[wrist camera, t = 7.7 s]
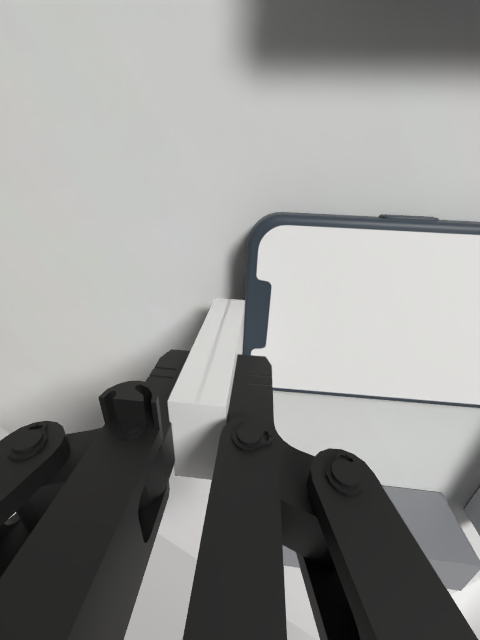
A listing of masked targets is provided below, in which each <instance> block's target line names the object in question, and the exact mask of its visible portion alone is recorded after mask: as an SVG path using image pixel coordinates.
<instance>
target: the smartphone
mask: <svg viewBox="0 0 480 640" xmlns="http://www.w3.org/2000/svg"><path fill="white" fill-rule="evenodd" d="M244 300H245V314H244V333H243V352H242V355H253V356H265V357H266V358H267V359H268V361H269V362H270V364H271V365H272V387H273V390H275V391H286V392H298V393H310V394H322V395H334V396H346V397H357V398H369V399H381V400H393V401H405V402H417V403H429V404H440V405H452V406H464V407H476V408H480V222H471V221H450V220H439V219H438V218H434V217H424V216H403V215H379V217H369V216H349V215H329V214H308V213H288V212H276V213H272V214H269V215H267V216H265V217H263V218H262V219H260V220H259V221H258V222H257V223H256V224H255V225H254V227H253V229H252V230H251V233H250V235H249V239H248V243H247V256H246V276H245V296H244Z"/></svg>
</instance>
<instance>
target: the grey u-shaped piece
mask: <svg viewBox="0 0 480 640" xmlns="http://www.w3.org/2000/svg"><path fill="white" fill-rule="evenodd" d="M382 487H383V488H384V490H385V492H386V493H387V495H388V496H389V498H390V500H391V501H392V503H393V504H394V506H395V508H396V509H397V511H398V512H399V514H400V516H401V517H402V519H403V520H404V522H405V524H406V525H407V527H408V528H409V530H410V532H411V533H412V535H413V536H414V538H415V540H416V541H417V543H418V544H419V546H420V548H421V549H422V551H423V552H424V554H425V556H426V557H427V559H428V560H429V562H430V564H431V565H432V567H433V568H434V570H435V572H436V573H437V575H438V576H439V578H440V579H441V581H442V583H443V584H444V586H445V587H446V589H453V590H460V591H461V590H462V589H463V588H464V587H465V586H466V585H467V583H468V582H469V581H470V580H471V579H472V578H473V577H474V576H475V575H476V573H477V572H478V571H479V570H480V560H479V559H478V557H477V555H476V553H475V551H474V550H473V548H472V546H471V544H470V542H469V541H468V539H467V537H466V535H465V533H464V532H463V530H462V528H461V526H460V524H459V523H458V521H457V519H456V517H455V515H454V514H453V512H452V510H451V508H450V506H449V505H448V503H447V501H446V499H445V498H444V496H443V494H442V493H440V492H431V491H423V490H414V489H406V488H397V487H389V486H382ZM464 510H465V512H466V514H467V515H468V517H469V519H470V520H471V522H472V524H473V525H474V527H475V529H476V530H477V532H478V534H479V536H480V487H479V489H478V490H477V491H476V493H475V494H474V496H473V497H472V498H471V500H470V501H469V503H468V504H467V506H466V507H465V508H464ZM283 565H285V566H292V567H299V568H300V565H299V562H298V558H297V555H296V552H295V551H293V550H291V549H289V548H287V547H285V546H283Z"/></svg>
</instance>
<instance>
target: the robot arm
mask: <svg viewBox="0 0 480 640" xmlns="http://www.w3.org/2000/svg"><path fill="white" fill-rule="evenodd" d="M244 314H245V300H236V299H223V298H215V299H214V301H213V303H212V305H211V308H210V310H209V312H208V314H207V316H206V318H205V321H204V323H203V325H202V327H201V329H200V332H199V334H198V336H197V338H196V340H195V342H194V345H193V347H192V349H191V351H181V350H170V351H169V352H167V353H166V354H165V355H163V356H162V357H161V358H160V359H159V361H158V363H157V364H156V366H155V369H153V371H152V372H151V374H150V377H148V379H147V380H146V382H142V381H128V382H124V383H120V384H117V385H115V386H113V387H111V388H109V389H107V390H106V391H105V392H104V393H103V394H101V395H100V396H99V401H100V405H101V409H102V413H103V417H104V421H105V425H104V426H103V427H102V428H99V429H95V430H90V431H84V432H78V433H72V434H65V431H64V428H63V427H62V426H61V425H60V424H58V423H57V422H51V421H42V422H35V423H32V424H29V425H27V426H24V427H21V428H19V429H18V430H16V431H14V432H13V433H11V434H9V435H8V436H6V437H5V438H4V439H2V440H1V441H0V640H124V636H125V633H126V630H127V627H128V624H129V621H130V617H131V614H132V611H133V608H134V605H135V602H136V598H137V595H138V592H139V589H140V586H141V583H142V579H143V576H144V573H145V570H146V567H147V564H148V560H149V557H150V554H151V551H152V548H153V544H154V542H155V538H156V535H157V532H158V529H159V526H160V523H161V519H162V516H163V513H164V510H165V507H166V504H167V500H168V497H169V489H170V488H169V478H170V475H171V472H172V469H173V466H174V469H175V475H176V476H185V477H194V478H201V479H211V480H212V482H211V488H210V493H209V499H208V504H207V510H206V515H205V521H204V526H203V532H202V537H201V542H200V548H199V553H198V559H197V564H196V570H195V576H194V581H193V586H192V592H191V597H190V603H189V608H188V614H187V619H186V625H185V630H184V636H183V640H287V633H286V632H287V630H286V609H285V588H284V567H283V546H285V547H287V548H289V549H291V550H293V551H295V552H296V555H297V558H298V562H299V565H300V569H301V572H302V576H303V580H304V583H305V587H306V590H307V594H308V597H309V601H310V605H311V608H312V612H313V615H314V619H315V622H316V626H317V629H318V633H319V637H320V640H478V639H477V637H476V635H475V634H474V632H473V631H472V629H471V628H470V626H469V624H468V623H467V621H466V619H465V618H464V616H463V615H462V613H461V611H460V610H459V608H458V607H457V605H456V604H455V602H454V600H453V599H452V597H451V595H450V594H449V592H448V591H447V589H446V587H445V586H444V584H443V583H442V581H441V579H440V578H439V576H438V575H437V573H436V572H435V570H434V568H433V567H432V565H431V564H430V562H429V560H428V559H427V557H426V556H425V554H424V552H423V551H422V549H421V548H420V546H419V544H418V543H417V541H416V540H415V538H414V536H413V535H412V533H411V532H410V530H409V528H408V527H407V525H406V524H405V522H404V520H403V519H402V517H401V516H400V514H399V512H398V511H397V509H396V508H395V506H394V504H393V503H392V501H391V500H390V498H389V496H388V495H387V493H386V492H385V490H384V488H383V487H382V485H381V484H380V482H379V480H378V479H377V477H376V476H375V474H374V473H373V471H372V470H371V469H370V468H369V467H368V465H367V464H366V463H365V462H364V461H362V460H361V459H360V458H358V457H357V456H355V455H354V454H352V453H349V452H347V451H344V450H341V449H327V450H324V451H321V452H319V453H318V454H317V455H316V456H312V455H310V454H307V453H305V452H302V451H300V450H297V449H295V448H293V447H292V446H290V445H289V444H287V443H286V442H285V441H283V439H282V438H281V437H280V436H279V435H278V433H277V431H276V429H275V426H274V417H273V387H272V365H271V364H270V362H269V361H268V359H267V358H266V357H265V356H253V355H242V352H243V333H244ZM15 512H16V514H15V515H14V516H12V515H13V514H14V513H15ZM11 516H12V517H11ZM10 517H11V518H10ZM9 518H10V519H9Z"/></svg>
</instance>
